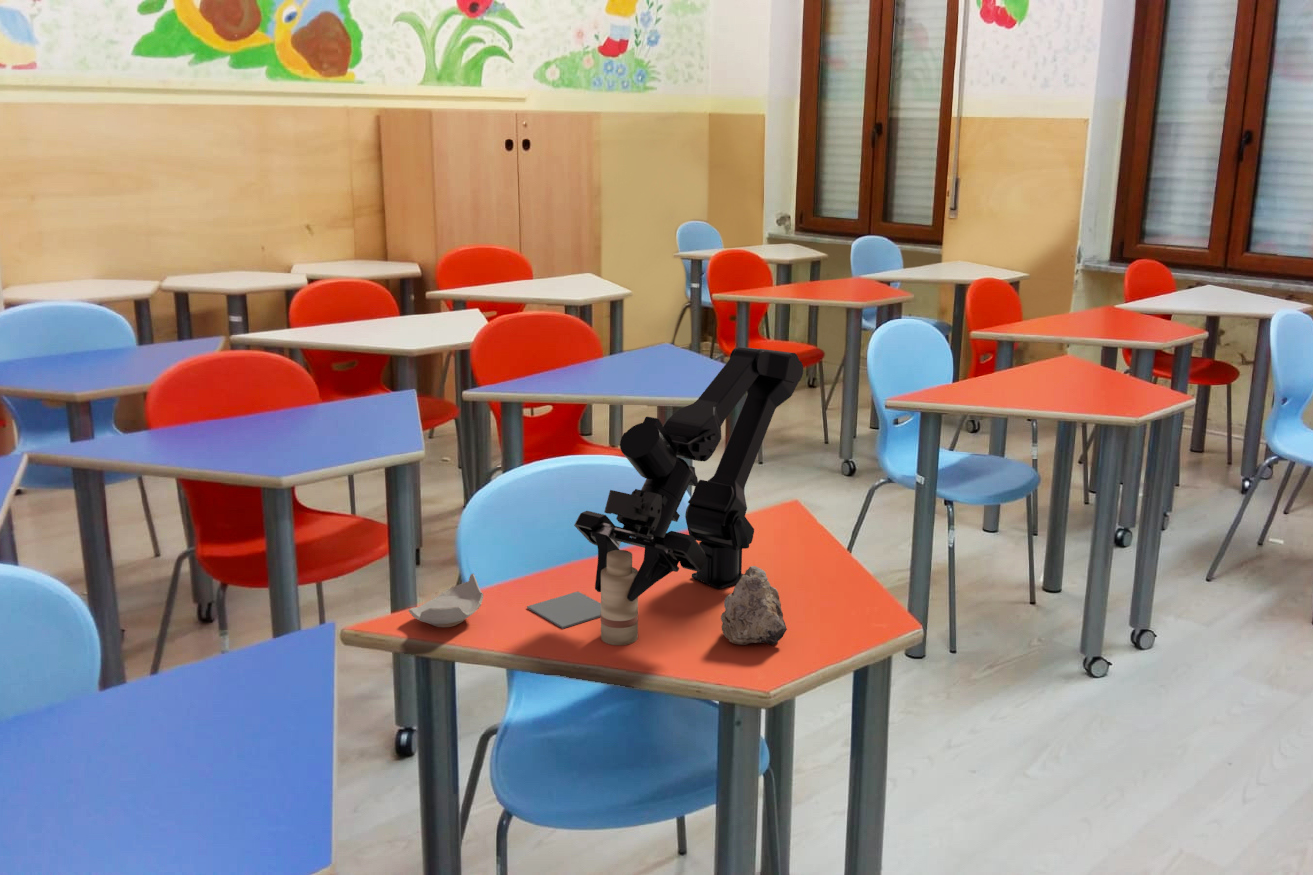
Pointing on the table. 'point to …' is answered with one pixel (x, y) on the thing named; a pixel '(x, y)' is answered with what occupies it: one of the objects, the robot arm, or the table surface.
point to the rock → (753, 611)
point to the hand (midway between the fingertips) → (613, 595)
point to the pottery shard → (451, 605)
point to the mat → (568, 609)
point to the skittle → (618, 600)
